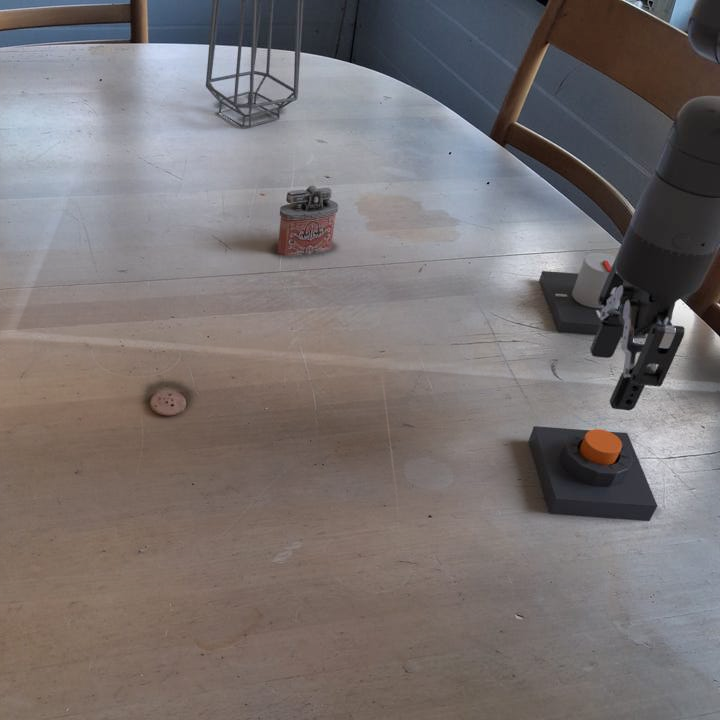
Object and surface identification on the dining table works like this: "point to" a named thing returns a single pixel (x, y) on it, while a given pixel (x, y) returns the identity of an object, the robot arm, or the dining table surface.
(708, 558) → the dining table surface
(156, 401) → the cookie
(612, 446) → the button
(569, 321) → the dial panel
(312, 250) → the lighter
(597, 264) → the timer dial
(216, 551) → the dining table surface
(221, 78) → the geometric lantern
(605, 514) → the button block
